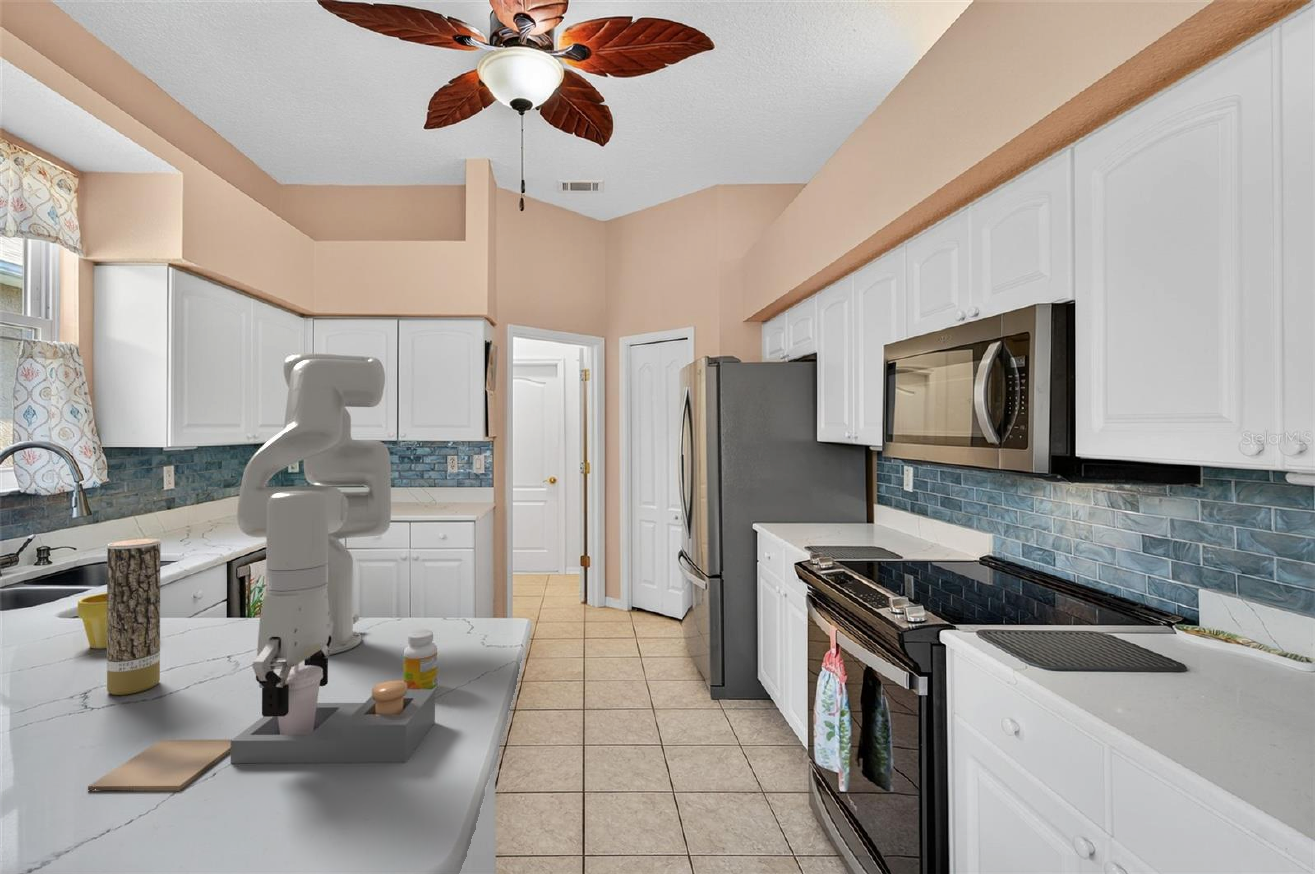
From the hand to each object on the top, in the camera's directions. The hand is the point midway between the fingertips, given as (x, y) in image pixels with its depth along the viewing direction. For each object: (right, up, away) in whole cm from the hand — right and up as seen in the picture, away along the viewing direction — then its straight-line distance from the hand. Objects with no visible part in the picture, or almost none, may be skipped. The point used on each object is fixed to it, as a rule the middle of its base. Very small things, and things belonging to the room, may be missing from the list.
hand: (296, 699), depth 84 cm
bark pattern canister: (-39, -6, +18) cm, 43 cm away
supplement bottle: (+10, -6, +18) cm, 21 cm away
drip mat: (-13, -6, -6) cm, 16 cm away
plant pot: (-62, -6, +39) cm, 74 cm away
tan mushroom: (+13, -5, +1) cm, 14 cm away
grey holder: (+6, -6, +1) cm, 8 cm away
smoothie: (0, -6, 0) cm, 6 cm away
